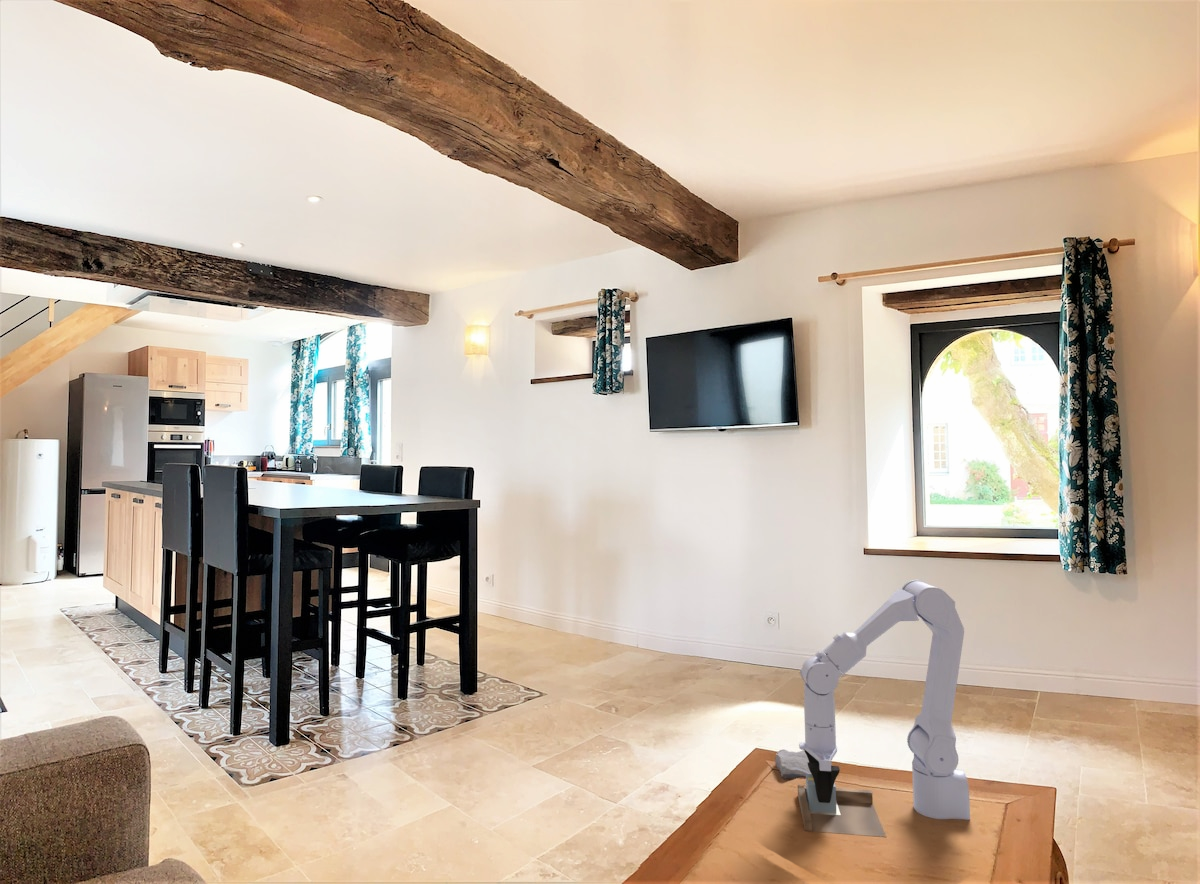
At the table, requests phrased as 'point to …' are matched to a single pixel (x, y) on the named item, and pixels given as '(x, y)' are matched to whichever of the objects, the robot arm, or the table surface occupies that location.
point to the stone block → (792, 764)
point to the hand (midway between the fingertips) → (821, 793)
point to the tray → (844, 814)
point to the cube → (813, 800)
